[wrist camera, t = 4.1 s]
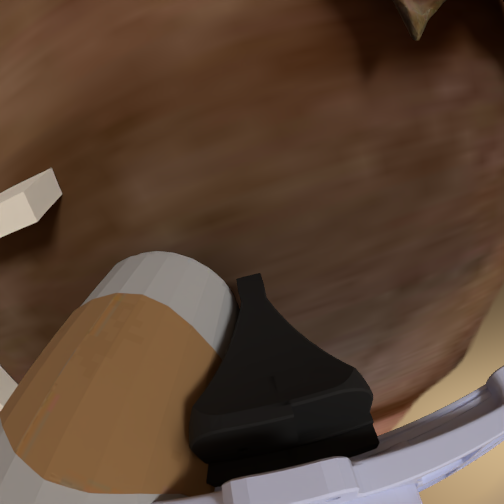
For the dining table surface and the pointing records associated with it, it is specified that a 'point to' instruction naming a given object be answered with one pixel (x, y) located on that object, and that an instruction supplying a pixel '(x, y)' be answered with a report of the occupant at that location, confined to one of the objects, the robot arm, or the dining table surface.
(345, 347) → the dining table surface
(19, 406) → the coffee cup
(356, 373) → the robot arm
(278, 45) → the dining table surface
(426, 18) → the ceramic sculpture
